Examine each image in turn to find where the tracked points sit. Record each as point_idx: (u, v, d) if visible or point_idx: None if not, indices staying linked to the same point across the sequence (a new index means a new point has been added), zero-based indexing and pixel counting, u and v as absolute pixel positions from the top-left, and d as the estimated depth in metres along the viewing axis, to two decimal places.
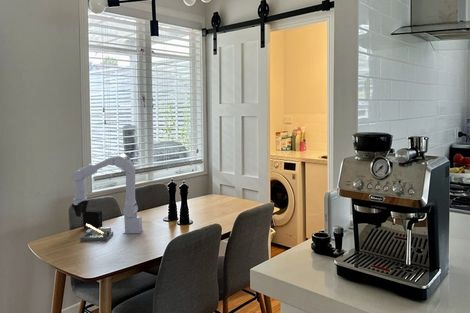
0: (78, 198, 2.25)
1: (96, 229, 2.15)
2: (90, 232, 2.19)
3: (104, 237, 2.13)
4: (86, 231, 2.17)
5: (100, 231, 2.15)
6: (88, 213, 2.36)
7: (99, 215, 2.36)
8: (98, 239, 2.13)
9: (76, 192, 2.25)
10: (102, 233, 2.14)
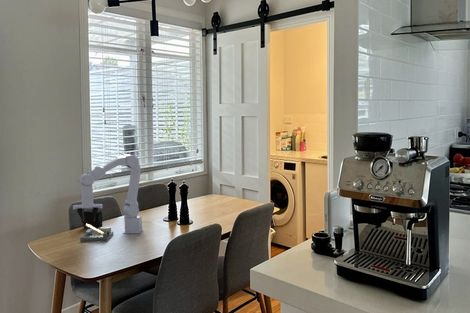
0: None
1: (96, 229, 2.15)
2: (90, 232, 2.19)
3: (104, 237, 2.13)
4: (86, 231, 2.17)
5: (100, 231, 2.15)
6: (88, 213, 2.36)
7: (99, 215, 2.36)
8: (98, 239, 2.13)
9: None
10: (102, 233, 2.14)
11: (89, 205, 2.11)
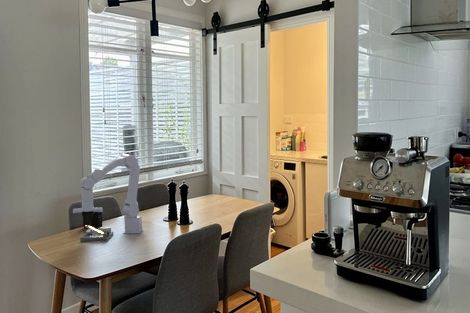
0: None
1: (96, 229, 2.15)
2: (90, 232, 2.19)
3: (104, 237, 2.13)
4: (86, 231, 2.17)
5: (100, 231, 2.15)
6: None
7: (99, 215, 2.36)
8: (98, 239, 2.13)
9: None
10: (102, 233, 2.14)
11: (89, 209, 2.11)
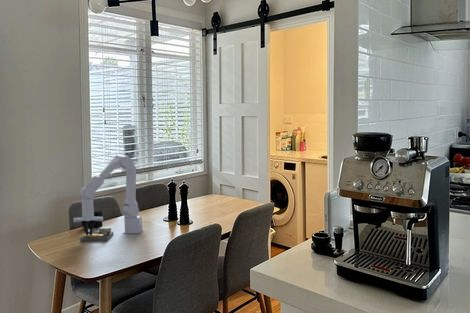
0: None
1: (94, 234, 2.15)
2: None
3: (104, 237, 2.13)
4: None
5: (99, 234, 2.15)
6: None
7: (99, 215, 2.36)
8: (98, 239, 2.13)
9: None
10: (101, 235, 2.14)
11: (90, 218, 2.12)
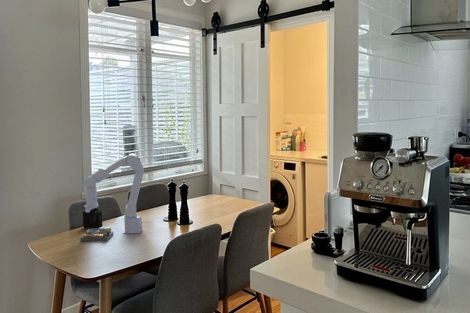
0: (90, 205, 2.21)
1: (94, 234, 2.15)
2: (90, 232, 2.19)
3: (104, 237, 2.13)
4: (86, 231, 2.17)
5: (99, 234, 2.15)
6: None
7: (99, 215, 2.36)
8: (98, 239, 2.13)
9: (88, 199, 2.21)
10: (101, 235, 2.14)
11: (97, 204, 2.25)
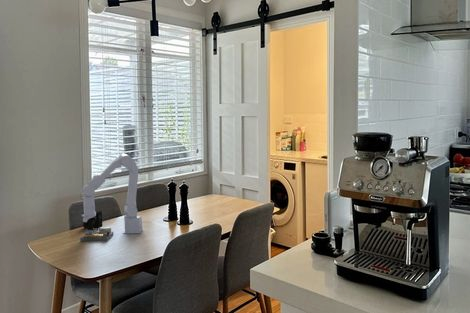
0: (87, 214, 2.17)
1: (94, 234, 2.15)
2: (89, 233, 2.18)
3: (104, 237, 2.13)
4: (85, 232, 2.16)
5: (99, 234, 2.15)
6: None
7: (99, 215, 2.36)
8: (98, 239, 2.13)
9: (85, 208, 2.17)
10: (101, 235, 2.14)
11: (95, 213, 2.21)
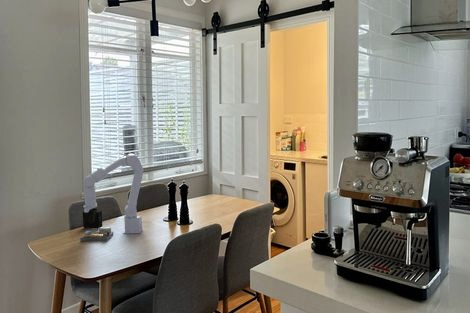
0: (88, 205, 2.19)
1: (94, 234, 2.15)
2: None
3: (104, 237, 2.13)
4: (84, 233, 2.14)
5: (99, 234, 2.15)
6: None
7: (99, 215, 2.36)
8: (98, 239, 2.13)
9: (86, 199, 2.19)
10: (101, 235, 2.14)
11: (96, 204, 2.23)
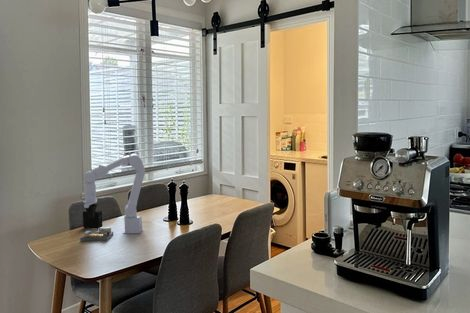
0: (89, 201, 2.19)
1: (94, 234, 2.15)
2: None
3: (104, 237, 2.13)
4: (84, 233, 2.14)
5: (99, 234, 2.15)
6: None
7: (99, 215, 2.36)
8: (98, 239, 2.13)
9: (86, 194, 2.19)
10: (101, 235, 2.14)
11: (96, 200, 2.23)
